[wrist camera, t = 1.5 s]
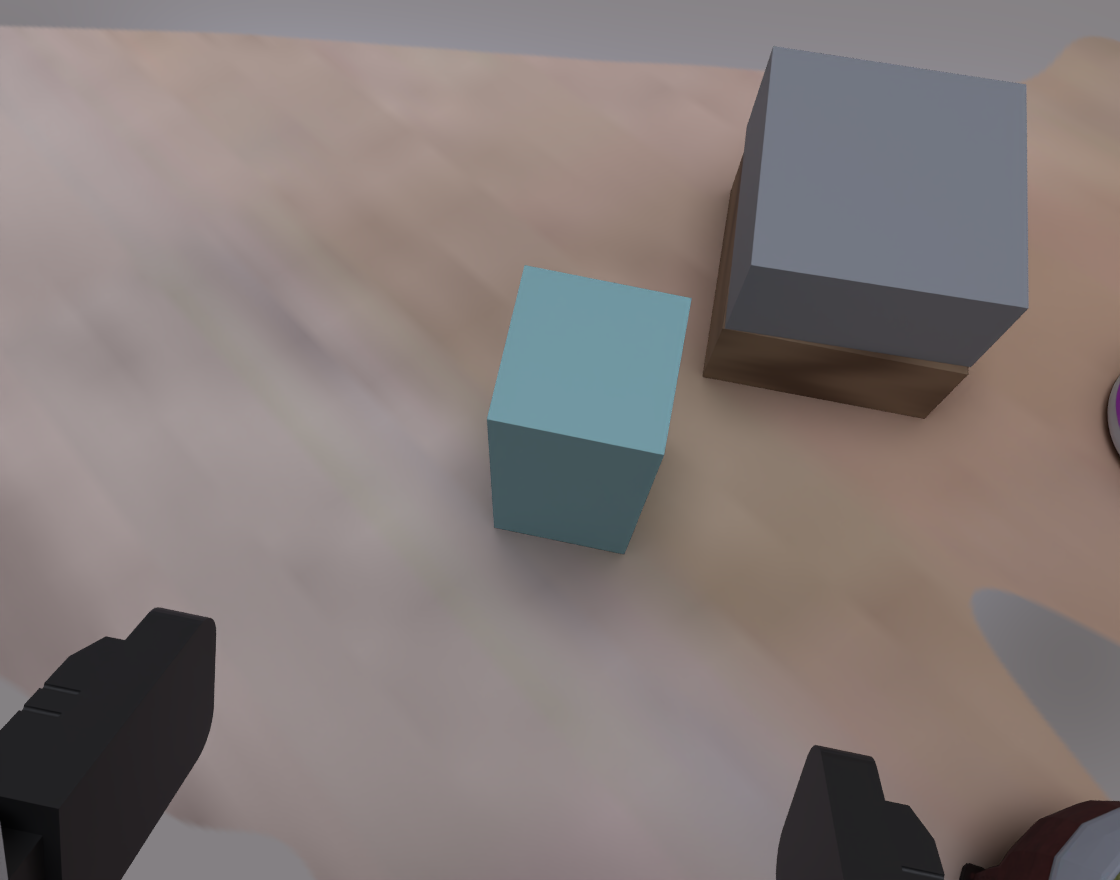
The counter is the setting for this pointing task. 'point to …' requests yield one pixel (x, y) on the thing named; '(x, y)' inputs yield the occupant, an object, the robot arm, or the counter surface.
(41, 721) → the robot arm
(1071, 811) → the mate gourd
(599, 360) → the teal block
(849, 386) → the bottom slab
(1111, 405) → the supplement bottle
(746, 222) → the top slab
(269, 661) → the counter surface
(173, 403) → the counter surface
